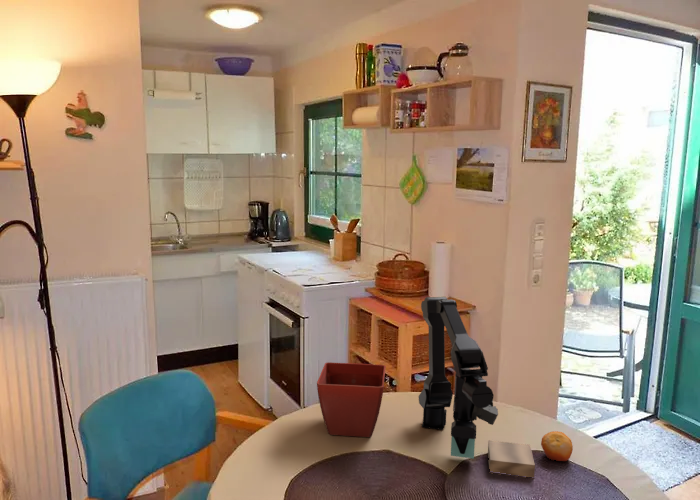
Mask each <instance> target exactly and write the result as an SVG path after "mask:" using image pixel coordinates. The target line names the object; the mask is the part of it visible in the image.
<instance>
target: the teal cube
mask: <svg viewBox="0 0 700 500" xmlns="http://www.w3.org/2000/svg"><path fill="white" fill-rule="evenodd" d="M475 442H476V439H469V441H468V444H467V447H466V451H465V454H460V451H459V449H458V446H457V444H456V441H455V439H454V437H453V436H451V442H450V447H451V448H450V456H451V457H459V458H466V459H467V458H468V459H472V460H474V459H475V447H476V446H475V445H476V443H475Z"/></svg>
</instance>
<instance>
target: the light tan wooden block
mask: <svg viewBox="0 0 700 500" xmlns="http://www.w3.org/2000/svg"><path fill="white" fill-rule="evenodd" d="M487 443H488V444H487V459H488V458H489V460H488V470H489V469H490V471H493V472H500V473H506V474H511V475H519V476H526V477H534V478H535V473H536V472H535V470H536V469H535V468H536V464H535V460H534V455H533V451H532V447H531V445H530V444H527V443H518V442H517V443H516V442H509V441H499V440H490V439H489V440H488V441H487ZM526 477H525V478H526Z"/></svg>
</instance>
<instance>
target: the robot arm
mask: <svg viewBox="0 0 700 500" xmlns="http://www.w3.org/2000/svg"><path fill="white" fill-rule="evenodd" d="M420 309H421V311H422V312H421V313H422V317H423V320H424V321H425V323H426V325H427V326H428V375H427V377H426V378H425V379H424V381H423V389H422V390H421V392H420V394H419V395H418V404H419V405H420V407H422V411H423V414H422V416H423V417H422V424H421V427H422V428H425V429H434V430H442V431H443V430H445V427H446V425H447V412H448V411H447V409H445V408H450V407H451V404H452V402H453V406H452V407H453V408H452V412H453V413H452V418H453V422H451V427H450V436H451V437H452V436H453V437H454V439H455V441H456V444H457V446H458V449H459V451H460V454H465V451H466V447H467V444H468V441H469V439H475V440H476V439H477V425H476V424H475V423H474V422H475V421H477V420H478V419H479V420H481V421H484V422H485V423H488V424H489V425H491V426H493V425H494V423H495V421H496V420H497V418H498V416H499V411H498V408H497V406H495V405H494V393H493V390H492V388H490V386H488V383H487V380H486V379H484V378H483V377H488V376H489V373H488V370H489V367H488V365H487V362H486V359H485V356H484V352H483V350H482V349H481V347H480V346H479V344H478V343H477V341H476V340H475V339H473V338H471V337H470V335H469V334H468V332H467V330H466V329H467V328H466V327H465V324H464V322H463V320H462V317H461V315H460V313H459V310H458V305H457V301H456V300H455V299H448V298H447V297H446V296H430V297H429V296H426V297H425V298H424V300H422V301H421V304H420ZM445 330H446V333H447V334H448V337H449V340H450V341H451V342H450V343H451V345H452V347H451V350H450V357H451V362H452V365H453V371H454V372H455V376H454V392H453V391H452V383H451V381H449V380H448V378H447V376H446V365H445V364H446V359H445V356H446V355H445V352H446V351H445V349H446V347H445V343H446V342H445V340H446V339H445ZM453 393H454V394H453ZM453 395H454V397H453ZM452 400H453V401H452Z"/></svg>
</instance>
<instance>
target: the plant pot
mask: <svg viewBox="0 0 700 500" xmlns="http://www.w3.org/2000/svg"><path fill="white" fill-rule="evenodd" d="M386 367H387V366H386V365H384V364H376V363H375V364H373V363H354V362H351V363H350V362H325V363H324V365H323V366H322V370H321V373H320V375H319V376H318V379H317V381H316V389H317V395H318V403H319V407H320V410H321V411H320V412H321V415H322V418H323V421H324V425H325V428H326V430H327V434H328V435H330V436H331V435H332V436H343V437H344V436H346V437H358V438H359V437H360V438H370V437H372V436H373V433H374V431H375V428H376V425H377V422H378V418H379V415H380V411H381V406H382V400H383V395H384V387H385V374H386Z"/></svg>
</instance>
